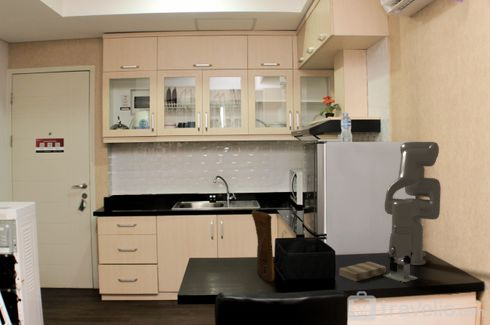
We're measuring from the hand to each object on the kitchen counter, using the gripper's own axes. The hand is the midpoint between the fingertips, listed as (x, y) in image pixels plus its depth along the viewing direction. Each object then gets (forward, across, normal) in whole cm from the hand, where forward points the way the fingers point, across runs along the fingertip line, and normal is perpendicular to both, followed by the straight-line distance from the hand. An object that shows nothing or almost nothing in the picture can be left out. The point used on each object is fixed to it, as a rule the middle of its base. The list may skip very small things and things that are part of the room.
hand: (400, 269), depth 154 cm
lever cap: (+3, 0, 0) cm, 3 cm away
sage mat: (+4, 0, 0) cm, 4 cm away
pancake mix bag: (+4, +50, -32) cm, 59 cm away
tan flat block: (+4, +11, -11) cm, 16 cm away
